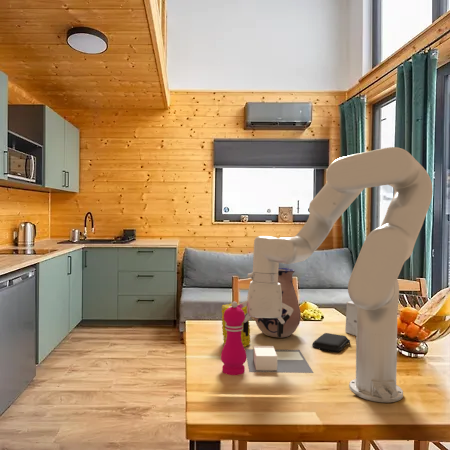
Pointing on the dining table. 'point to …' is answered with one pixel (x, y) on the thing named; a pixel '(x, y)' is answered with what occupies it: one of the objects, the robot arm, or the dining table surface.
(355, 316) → the skincare box
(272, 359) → the box
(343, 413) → the dining table surface
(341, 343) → the carrying case or bag
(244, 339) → the food
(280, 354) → the mat
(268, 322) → the ceramic pitcher
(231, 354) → the pepper mill
